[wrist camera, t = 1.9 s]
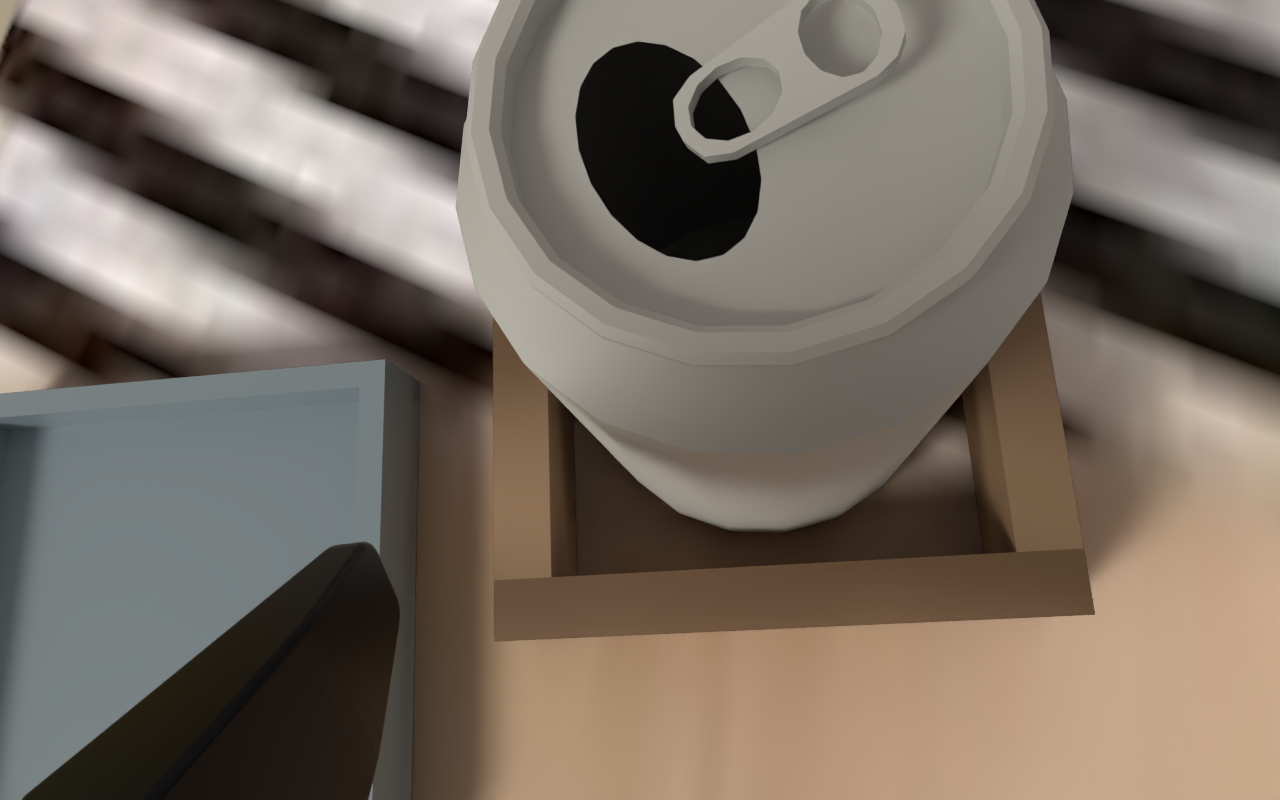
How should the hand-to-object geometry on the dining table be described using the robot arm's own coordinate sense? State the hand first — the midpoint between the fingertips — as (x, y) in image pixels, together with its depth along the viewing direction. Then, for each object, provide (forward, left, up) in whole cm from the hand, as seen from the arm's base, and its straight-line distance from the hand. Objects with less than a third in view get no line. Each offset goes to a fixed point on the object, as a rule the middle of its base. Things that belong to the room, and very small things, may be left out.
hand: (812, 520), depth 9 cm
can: (+5, 0, -11) cm, 12 cm away
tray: (0, +14, -11) cm, 18 cm away
